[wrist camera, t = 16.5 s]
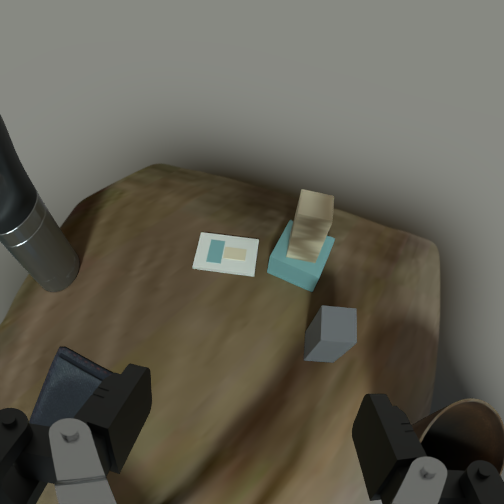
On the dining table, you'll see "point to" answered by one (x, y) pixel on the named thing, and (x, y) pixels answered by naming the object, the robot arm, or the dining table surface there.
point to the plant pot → (463, 435)
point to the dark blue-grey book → (66, 387)
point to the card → (226, 254)
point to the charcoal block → (330, 334)
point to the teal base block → (297, 263)
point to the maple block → (310, 225)
